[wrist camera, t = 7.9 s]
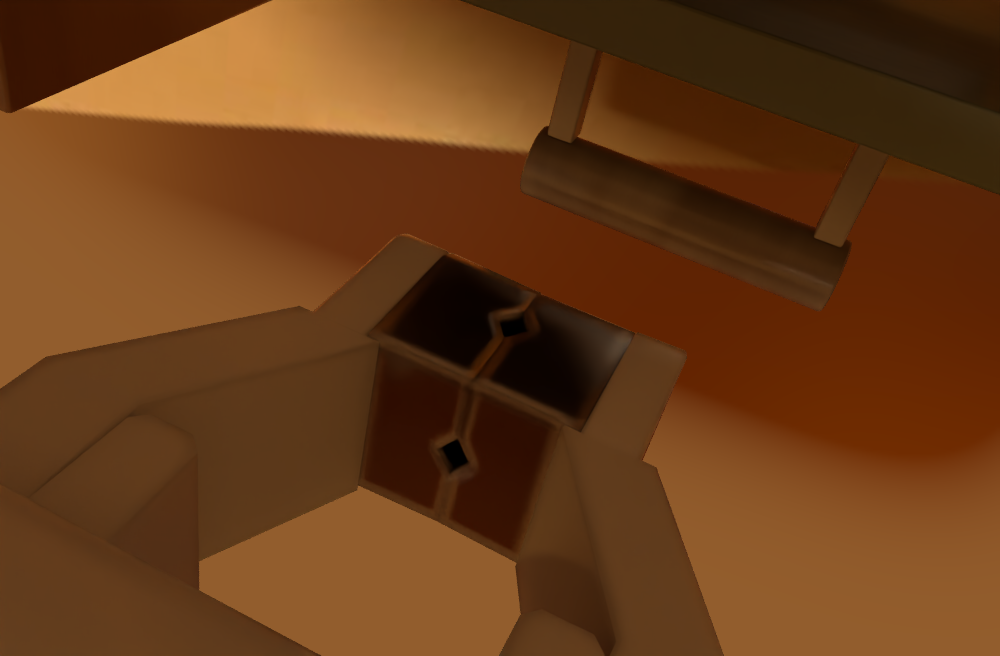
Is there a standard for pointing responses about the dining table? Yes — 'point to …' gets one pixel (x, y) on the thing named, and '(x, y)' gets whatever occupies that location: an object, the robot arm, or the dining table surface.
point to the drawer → (780, 90)
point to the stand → (90, 39)
